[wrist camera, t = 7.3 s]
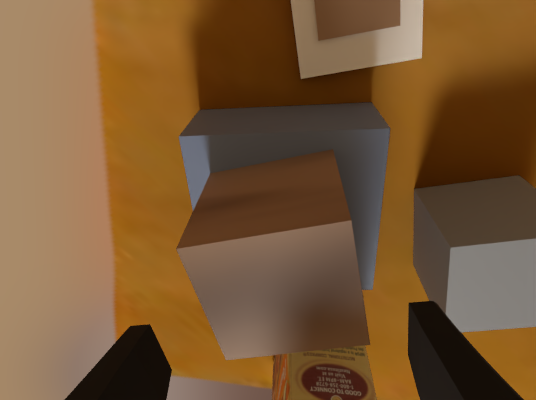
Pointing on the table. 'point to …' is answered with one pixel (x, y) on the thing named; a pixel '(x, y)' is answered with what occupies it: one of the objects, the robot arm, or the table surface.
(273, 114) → the base block
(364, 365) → the candy box
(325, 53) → the tile
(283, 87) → the table surface
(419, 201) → the grey cube
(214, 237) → the walnut cube
